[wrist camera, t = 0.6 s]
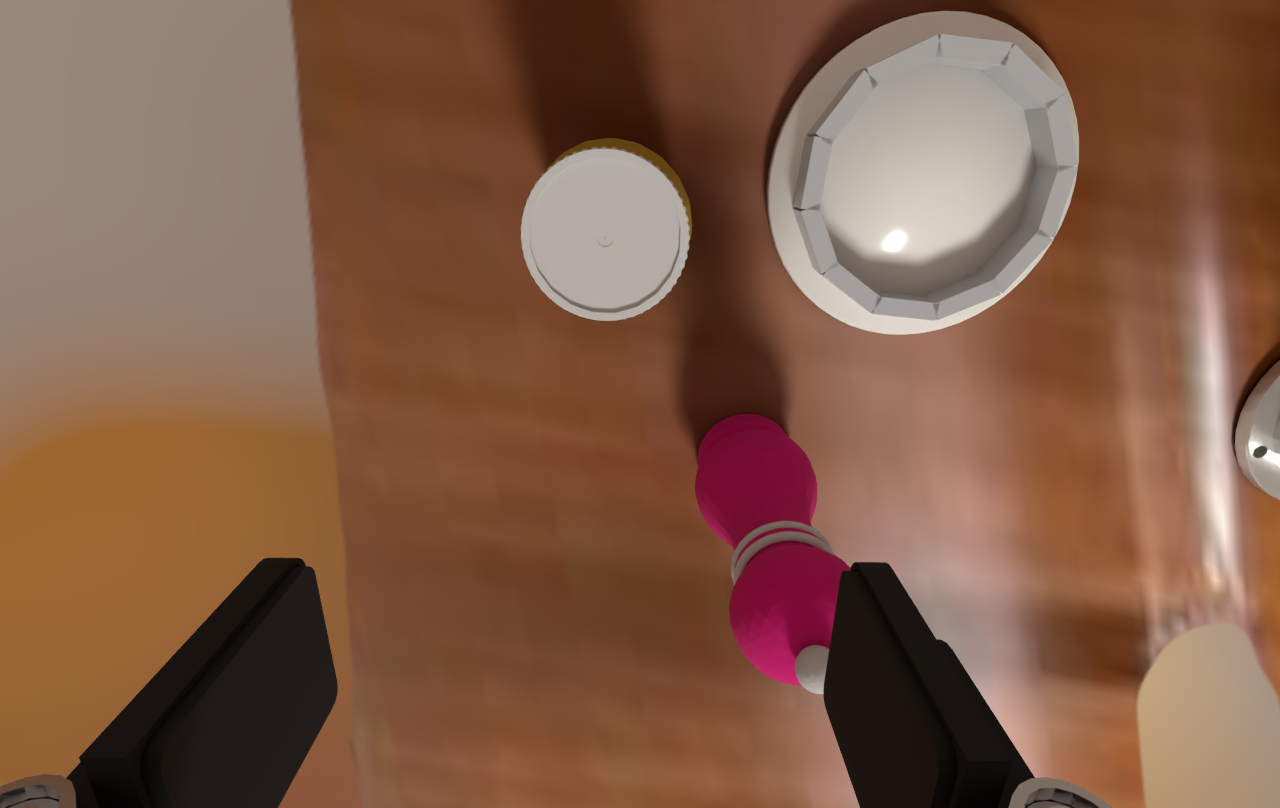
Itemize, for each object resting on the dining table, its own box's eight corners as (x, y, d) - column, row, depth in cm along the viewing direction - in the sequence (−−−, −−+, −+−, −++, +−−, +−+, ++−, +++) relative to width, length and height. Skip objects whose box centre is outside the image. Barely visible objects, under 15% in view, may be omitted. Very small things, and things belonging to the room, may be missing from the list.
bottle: (617, 292, 39) (603, 369, 25) (533, 205, 37) (467, 234, 23) (703, 210, 37) (741, 243, 23) (620, 114, 35) (606, 86, 21)
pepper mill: (713, 391, 41) (773, 585, 22) (816, 424, 42) (956, 639, 23) (674, 485, 44) (700, 731, 25) (772, 515, 44) (868, 774, 26)
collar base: (1131, 150, 36) (1173, 150, 33) (915, 381, 41) (935, 398, 38) (914, -63, 32) (940, -84, 29) (706, 219, 37) (711, 224, 34)
